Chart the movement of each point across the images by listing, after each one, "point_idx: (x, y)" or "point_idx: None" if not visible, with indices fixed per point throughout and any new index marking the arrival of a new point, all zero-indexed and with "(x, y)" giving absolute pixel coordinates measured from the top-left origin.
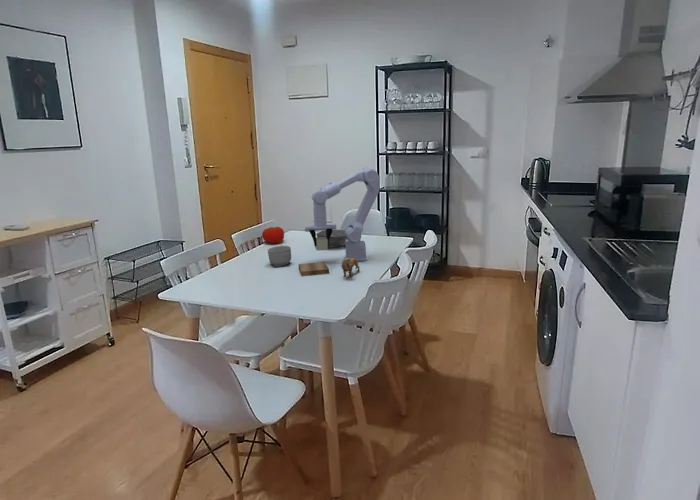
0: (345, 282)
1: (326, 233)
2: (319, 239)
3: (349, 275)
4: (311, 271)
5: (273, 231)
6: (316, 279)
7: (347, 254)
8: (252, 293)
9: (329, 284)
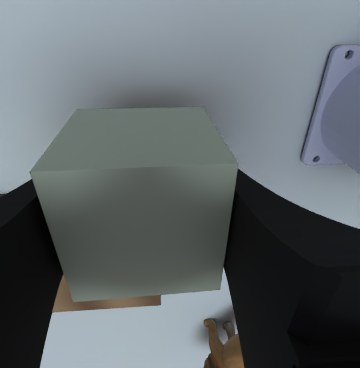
0: (196, 352)
1: (257, 292)
2: (112, 280)
3: (225, 329)
4: (79, 307)
5: None
6: (104, 326)
7: (343, 152)
8: None
9: (145, 358)
